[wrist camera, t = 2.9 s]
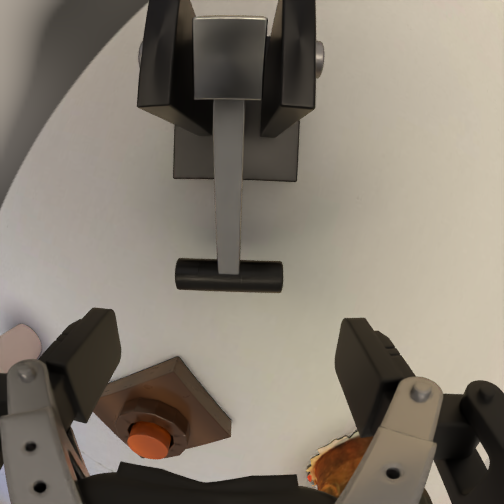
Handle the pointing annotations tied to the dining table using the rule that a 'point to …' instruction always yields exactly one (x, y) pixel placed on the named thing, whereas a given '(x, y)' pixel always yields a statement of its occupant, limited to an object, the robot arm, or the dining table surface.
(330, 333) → the dining table surface
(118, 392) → the button block
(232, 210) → the switch
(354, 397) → the robot arm
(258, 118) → the switch bracket
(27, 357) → the smoothie
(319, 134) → the dining table surface
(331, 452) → the vessel
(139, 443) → the button
